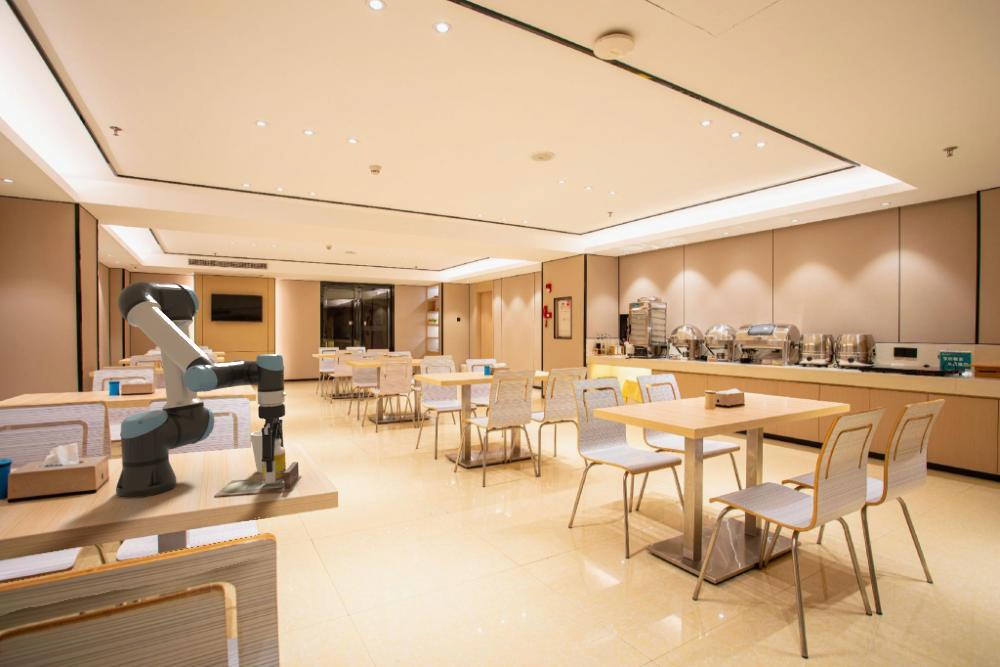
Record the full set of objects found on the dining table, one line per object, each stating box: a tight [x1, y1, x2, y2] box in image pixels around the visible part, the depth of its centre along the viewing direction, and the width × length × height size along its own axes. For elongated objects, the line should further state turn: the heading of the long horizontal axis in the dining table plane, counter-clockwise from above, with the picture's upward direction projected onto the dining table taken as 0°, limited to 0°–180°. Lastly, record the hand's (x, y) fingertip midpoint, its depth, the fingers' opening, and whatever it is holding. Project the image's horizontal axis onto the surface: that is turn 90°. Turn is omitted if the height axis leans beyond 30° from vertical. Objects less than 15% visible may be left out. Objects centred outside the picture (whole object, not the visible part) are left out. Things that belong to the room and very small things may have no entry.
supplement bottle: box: [262, 439, 287, 484], centre depth 153 cm, size 7×7×13 cm
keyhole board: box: [213, 461, 302, 498], centre depth 152 cm, size 21×14×5 cm, turn 99°
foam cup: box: [250, 430, 262, 473], centre depth 169 cm, size 10×9×13 cm
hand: (274, 478), depth 153 cm, fingers closed on supplement bottle, 7 cm apart
